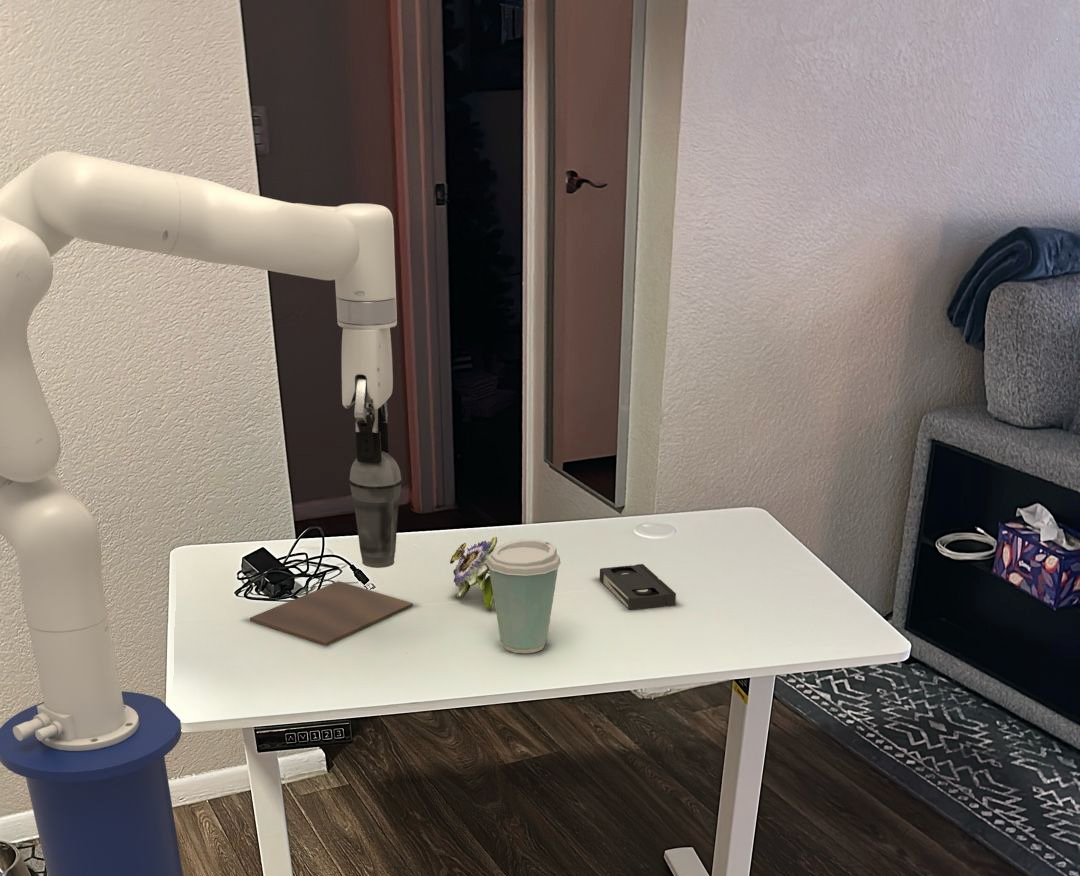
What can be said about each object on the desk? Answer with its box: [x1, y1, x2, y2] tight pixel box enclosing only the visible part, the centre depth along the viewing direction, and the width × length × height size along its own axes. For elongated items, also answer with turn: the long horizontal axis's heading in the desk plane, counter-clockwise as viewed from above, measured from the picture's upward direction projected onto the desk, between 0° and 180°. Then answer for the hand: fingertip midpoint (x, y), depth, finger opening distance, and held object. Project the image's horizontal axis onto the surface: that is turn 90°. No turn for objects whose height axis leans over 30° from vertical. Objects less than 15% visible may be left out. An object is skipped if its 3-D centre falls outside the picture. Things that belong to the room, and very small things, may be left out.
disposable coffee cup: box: [487, 538, 561, 654], centre depth 187 cm, size 11×11×15 cm
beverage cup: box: [348, 415, 403, 569], centre depth 174 cm, size 7×7×20 cm
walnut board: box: [249, 580, 414, 647], centre depth 200 cm, size 20×16×1 cm
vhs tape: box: [598, 563, 677, 611], centre depth 210 cm, size 14×8×2 cm, turn 18°
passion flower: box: [449, 536, 498, 612], centre depth 205 cm, size 11×11×12 cm
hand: (373, 455), depth 172 cm, fingers closed on beverage cup, 4 cm apart
